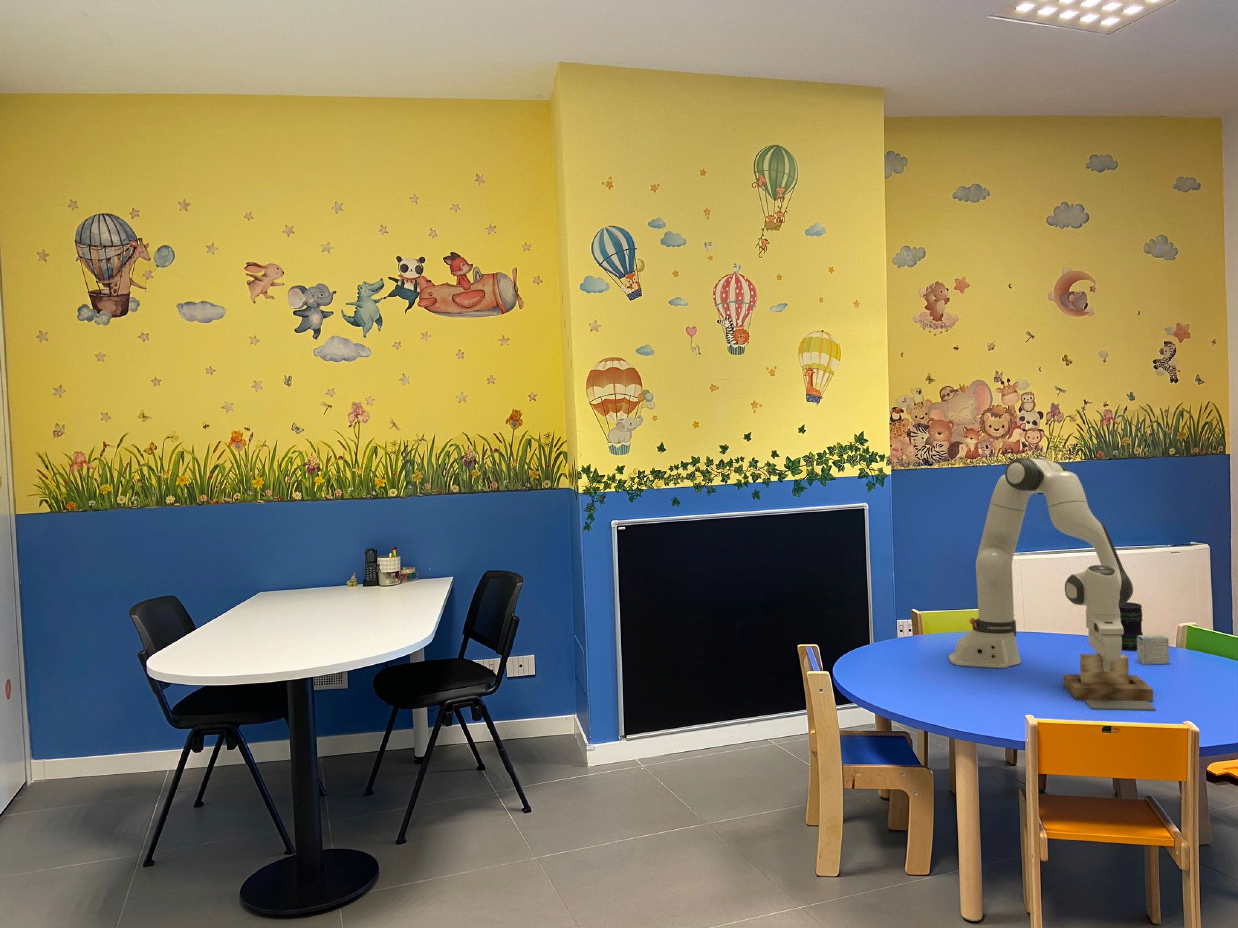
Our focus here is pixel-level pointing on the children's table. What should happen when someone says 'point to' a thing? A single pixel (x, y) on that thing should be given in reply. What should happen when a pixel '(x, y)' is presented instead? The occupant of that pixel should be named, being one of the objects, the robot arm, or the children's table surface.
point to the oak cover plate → (1095, 673)
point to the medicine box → (1153, 649)
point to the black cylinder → (1130, 625)
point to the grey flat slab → (1119, 705)
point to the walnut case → (1108, 689)
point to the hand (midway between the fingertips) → (1104, 668)
